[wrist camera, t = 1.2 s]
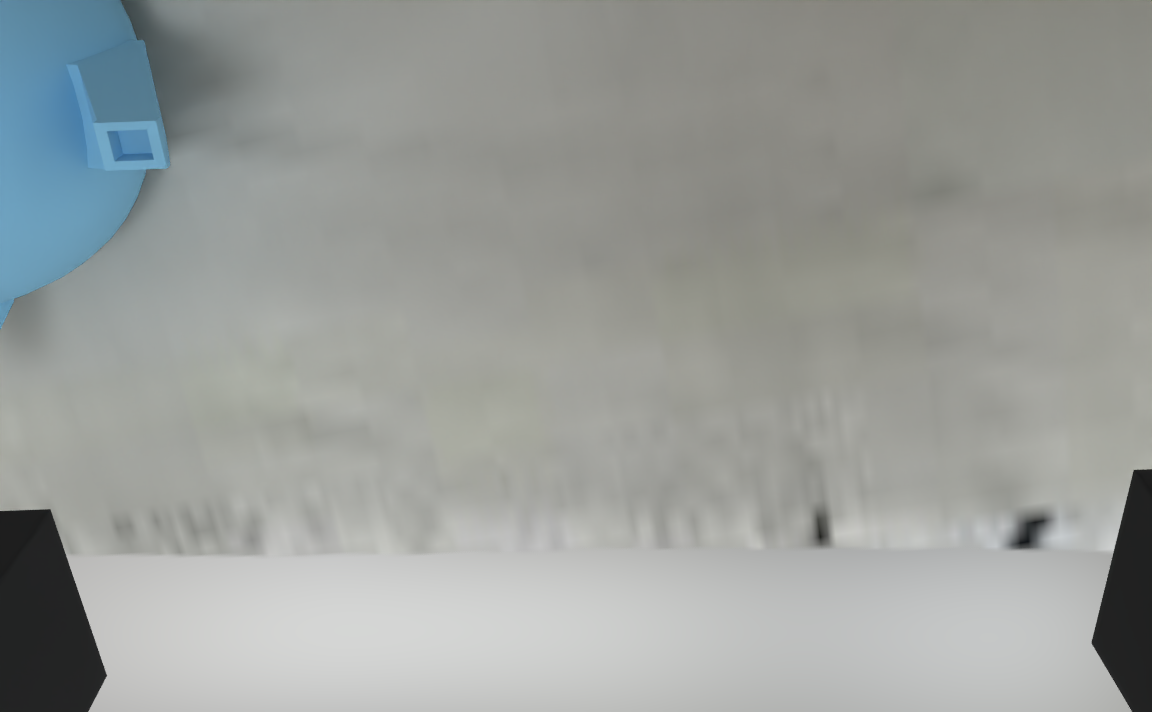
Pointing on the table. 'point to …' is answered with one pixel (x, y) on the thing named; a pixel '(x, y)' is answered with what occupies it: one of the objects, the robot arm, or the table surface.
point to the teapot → (69, 135)
